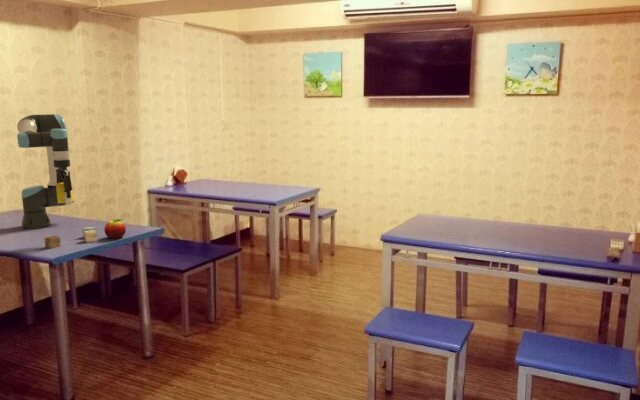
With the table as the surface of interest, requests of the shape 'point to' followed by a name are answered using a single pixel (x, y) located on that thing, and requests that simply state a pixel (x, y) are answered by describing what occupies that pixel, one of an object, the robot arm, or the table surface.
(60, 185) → the supplement box
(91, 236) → the maple cube
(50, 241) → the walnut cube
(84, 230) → the sage-green cube
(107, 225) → the fruit
